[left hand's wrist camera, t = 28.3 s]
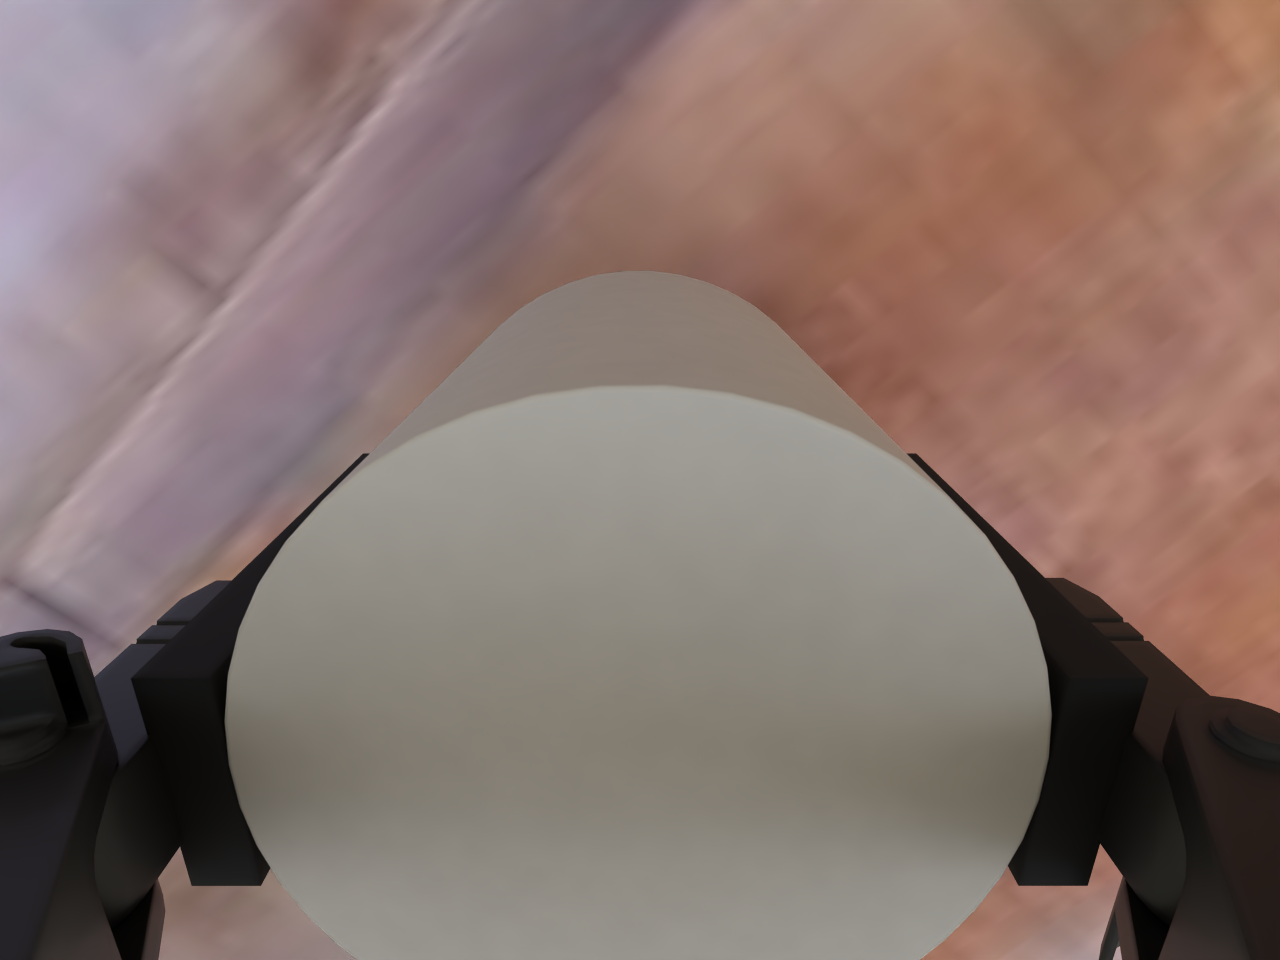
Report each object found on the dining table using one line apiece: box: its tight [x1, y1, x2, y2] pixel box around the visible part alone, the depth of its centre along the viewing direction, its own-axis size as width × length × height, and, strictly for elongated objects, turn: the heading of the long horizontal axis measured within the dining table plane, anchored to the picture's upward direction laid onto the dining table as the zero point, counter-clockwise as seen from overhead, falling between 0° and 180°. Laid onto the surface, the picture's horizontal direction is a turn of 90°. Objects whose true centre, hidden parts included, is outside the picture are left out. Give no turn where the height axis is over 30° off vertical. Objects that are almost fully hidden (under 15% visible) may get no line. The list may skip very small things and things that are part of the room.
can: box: [225, 271, 1052, 960], centre depth 12 cm, size 8×8×9 cm
